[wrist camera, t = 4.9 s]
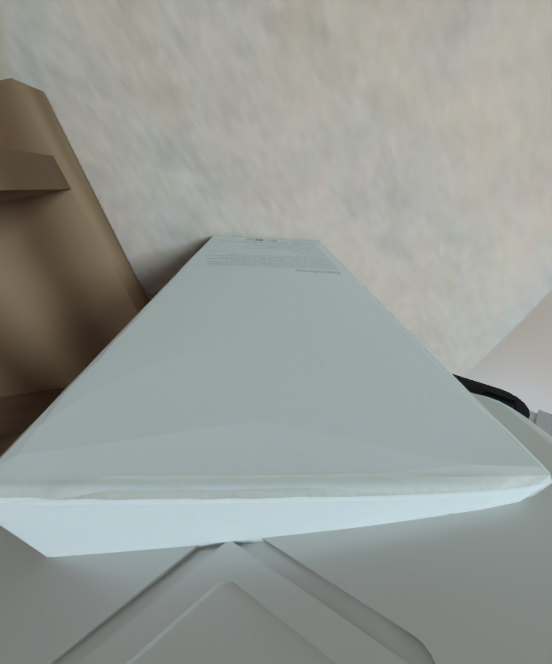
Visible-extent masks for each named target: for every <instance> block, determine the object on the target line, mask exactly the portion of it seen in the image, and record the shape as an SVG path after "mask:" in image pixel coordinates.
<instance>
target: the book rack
mask: <svg viewBox="0 0 552 664" xmlns="http://www.w3.org/2000/svg"><path fill="white" fill-rule="evenodd" d="M148 303H149V301H148V299H147V297H146V295H145V293H144V291H143V289H142V287H141V285H140V283H139V281H138V279H137V277H136V275H135V273H134V271H133V269H132V267H131V265H130V263H129V261H128V259H127V257H126V255H125V253H124V251H123V249H122V247H121V245H120V243H119V241H118V239H117V237H116V235H115V233H114V231H113V229H112V227H111V225H110V223H109V221H108V219H107V217H106V215H105V213H104V211H103V209H102V207H101V205H100V203H99V201H98V199H97V197H96V195H95V193H94V191H93V189H92V187H91V185H90V183H89V181H88V179H87V177H86V175H85V173H84V171H83V169H82V167H81V165H80V163H79V161H78V159H77V157H76V155H75V153H74V151H73V149H72V147H71V145H70V143H69V141H68V139H67V137H66V135H65V133H64V131H63V129H62V127H61V125H60V123H59V121H58V119H57V117H56V115H55V113H54V111H53V109H52V107H51V105H50V103H49V101H48V99H47V97H46V95H45V93H44V92H43V91H40V90H38V89H35V88H33V87H31V86H28V85H26V84H24V83H21V82H19V81H17V80H14V79H12V78H10V79H5V80H1V81H0V456H1V455H2V454H3V453H4V452H5V451H6V450H7V449H8V448H9V447H10V446H11V445H12V444H13V443H14V442H15V440H16V439H17V438H18V437H19V436H20V435H21V434H22V433H23V432H24V431H25V430H26V429H27V428H28V427H29V426H30V425H31V424H32V423H33V422H34V421H35V420H36V419H37V418H38V417H39V416H40V415H41V414H42V413H43V412H44V411H45V410H46V409H47V408H48V407H49V406H50V405H51V404H52V403H53V402H54V400H55V399H56V398H57V397H58V396H59V395H60V394H61V393H62V392H63V391H64V390H65V388H66V387H67V386H68V385H69V384H70V383H71V382H73V381H74V380H75V379H76V378H77V377H78V376H79V375H80V374H81V373H82V372H83V371H84V369H85V368H86V367H87V366H88V365H89V364H90V363H91V362H92V361H93V360H94V359H95V358H96V357H97V356H98V355H99V353H100V352H101V351H102V350H103V349H104V348H105V347H106V346H107V345H108V344H109V343H110V342H111V341H112V340H113V339H114V338H115V337H116V336H117V335H118V334H119V333H120V332H121V331H122V330H123V329H124V328H125V327H126V326H127V325H128V324H129V323H130V322H131V321H132V319H133V318H134V317H135V316H136V315H137V314H138V313H139V312H140V311H141V310H142V309H143V308H144V307H145V306H146V305H147V304H148Z"/></svg>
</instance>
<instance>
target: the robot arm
mask: <svg viewBox="0 0 552 664" xmlns="http://www.w3.org/2000/svg"><path fill="white" fill-rule="evenodd" d="M452 375H453V376H454V377H455V378H456V379H457V380H458V381H459V382H460V383H461V384H462V385H463V386H464V387H465V388H466V389H467V390H468V391H469V392H470V393H471V394H472V395H473V396H474V397H475V398H476V399H477V400H478V401H479V402H480V403H481V404H482V405H483V406H484V407H485V408H486V409H487V410H488V411H489V412H490V413H491V414H492V415H493V416H494V417H495V418H496V419H497V420H498V421H499V422H500V423H501V424H502V425H503V426H504V427H505V428H506V429H507V430H508V431H509V432H510V433H511V434H512V435H513V436H514V437H515V438H516V439H517V440H518V441H519V442H520V443H521V444H522V445H523V446H524V447H525V448H526V449H527V450H528V451H529V452H530V453H531V454H532V455H533V456H534V457H535V458H536V459H537V460H538V461H539V462H540V463H541V464H542V465H543V466H544V467H545V468H546V469H547V470H548V471H549V472H550V476H551V479H552V415H551V414H549V413H546V412H543V411H541V410H539V411H538V412H537V414H536V413H534V412H531V411H529V409H528V408H527V406H526V405H525V403H523V402H522V401H521V400H520V399H519V398H517V397H516V396H514V395H512V394H511V393H509V392H506V391H504V390H501V389H498V388H495V387H492V386H489V385H486V384H483V383H479V382H476V381H473V380H470V379H467V378H463V377H460V376H457V375H454V374H452ZM262 539H263V541H261V542H252V543H243V544H236V543H234V542H233V541H230V542H225V543H224V544H223V545H221V546H216V547H207V548H199V546H198V545H193V546H183V547H172V548H160V549H148V550H136V551H124V552H113V553H99V554H85V555H72V556H59V557H46V556H45V555H43V554H42V553H40V552H39V551H37V550H36V549H34V548H33V547H32V546H30V545H29V544H27V543H26V542H24V541H23V540H21V539H20V538H18V537H17V536H15V535H14V534H12V533H11V532H9V531H8V530H6V529H5V528H3V527H2V526H0V664H552V483H551V484H550V485H548V486H547V487H546V488H545V489H543V490H542V491H540V492H538V493H537V494H535V495H533V496H529V497H526V498H524V499H523V500H521V501H519V502H516V503H511V504H505V505H500V506H496V507H491V508H487V509H482V510H475V511H468V512H462V513H455V514H449V515H442V516H435V517H428V518H422V519H415V520H408V521H401V522H394V523H387V524H379V525H371V526H364V527H356V528H348V529H339V530H330V531H321V532H312V533H303V534H293V535H284V536H275V537H266V538H262Z"/></svg>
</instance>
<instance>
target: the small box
mask: <svg viewBox="0 0 552 664" xmlns="http://www.w3.org/2000/svg"><path fill="white" fill-rule="evenodd" d="M551 483H552V479H551V476H550V472H549V471H548V470H547V469H546V468H545V467H544V466H543V465H542V464H541V463H540V462H539V461H538V460H537V459H536V458H535V457H534V456H533V455H532V454H531V453H530V452H529V451H528V450H527V449H526V448H525V447H524V446H523V445H522V444H521V443H520V442H519V441H518V440H517V439H516V438H515V437H514V436H513V435H512V434H511V433H510V432H509V431H508V430H507V429H506V428H505V427H504V426H503V425H502V424H501V423H500V422H499V421H498V420H497V419H496V418H495V417H494V416H493V415H492V414H491V413H490V412H489V411H488V410H487V409H486V408H485V407H484V406H483V405H482V404H481V403H480V402H479V401H478V400H477V399H476V398H475V397H474V396H473V395H472V394H471V393H470V392H469V391H468V390H467V389H466V388H465V387H464V386H463V385H462V384H461V383H460V382H459V381H458V380H457V379H456V378H455V377H454V376H453V375H452V374H451V373H450V372H449V371H448V370H447V369H446V368H445V367H444V366H443V365H442V364H441V363H440V362H439V361H438V360H437V359H436V358H435V357H434V356H433V355H432V354H431V353H430V352H429V351H428V350H427V349H426V348H425V347H424V346H423V345H422V344H421V343H420V342H419V341H418V340H417V339H416V338H415V337H414V336H413V335H412V334H411V333H410V332H409V331H408V329H407V328H406V327H405V326H404V325H403V324H402V323H401V322H400V321H399V320H398V319H397V318H396V317H395V316H394V315H393V314H392V313H391V312H390V311H389V310H388V309H387V308H386V307H385V306H384V305H383V304H382V303H381V302H380V301H379V300H378V299H377V298H376V297H375V296H374V295H373V294H372V293H371V292H370V291H369V290H368V289H367V288H366V287H365V286H364V285H363V284H362V283H361V282H360V281H359V280H358V279H357V278H356V277H355V276H354V275H353V274H352V273H351V272H350V271H349V270H348V269H347V268H346V267H345V266H344V265H343V264H342V263H341V262H340V261H339V260H338V259H337V258H336V257H335V256H334V255H333V254H332V253H331V252H330V251H329V250H328V249H327V248H326V247H325V246H324V245H323V244H322V243H321V242H320V241H298V240H279V239H261V238H244V237H227V236H212V237H211V238H210V239H209V240H208V242H206V244H205V245H204V246H203V247H202V248H201V249H200V250H199V251H198V252H197V253H196V254H195V255H194V256H193V257H192V258H191V259H190V260H189V261H188V262H187V263H186V264H185V265H184V266H183V267H182V268H181V269H180V270H179V271H178V273H177V274H176V275H175V276H174V277H173V278H172V279H171V280H170V281H169V282H168V283H167V284H166V285H165V286H164V287H163V288H162V289H161V290H160V291H159V292H158V293H157V294H156V295H155V296H154V297H153V298H152V299H151V301H150V302H149V303H148V304H147V305H146V306H145V307H144V308H143V309H142V310H141V311H140V312H139V313H138V314H137V315H136V316H135V317H134V318H133V319H132V321H131V322H130V323H129V324H128V325H127V326H126V327H125V328H124V329H123V330H122V331H121V332H120V333H119V334H118V335H117V336H116V337H115V338H114V339H113V340H112V341H111V342H110V343H109V344H108V345H107V346H106V347H105V348H104V349H103V350H102V351H101V352H100V353H99V355H98V356H97V357H96V358H95V359H94V360H93V361H92V362H91V363H90V364H89V365H88V366H87V367H86V368H85V369H84V371H83V372H82V373H81V374H80V375H79V376H78V377H77V378H76V379H75V380H74V381H73V382H71V383H70V384H69V385H68V386H67V387H66V388H65V390H64V391H63V392H62V393H61V394H60V395H59V396H58V397H57V398H56V399H55V400H54V402H53V403H52V404H51V405H50V406H49V407H48V408H47V409H46V410H45V411H44V412H43V413H42V414H41V415H40V416H39V417H38V418H37V419H36V420H35V421H34V422H33V423H32V424H31V425H30V426H29V427H28V428H27V429H26V430H25V431H24V432H23V433H22V434H21V435H20V436H19V437H18V438H17V439H16V440H15V442H14V443H13V444H12V445H11V446H10V447H9V448H8V449H7V450H6V451H5V452H4V453H3V454H2V455H1V456H0V526H2V527H3V528H5V529H6V530H8V531H9V532H11V533H12V534H14V535H15V536H17V537H18V538H20V539H21V540H23V541H24V542H26V543H27V544H29V545H30V546H32V547H33V548H34V549H36V550H37V551H39V552H40V553H42V554H43V555H45V556H46V557H59V556H72V555H85V554H99V553H113V552H124V551H136V550H148V549H160V548H172V547H183V546H193V545H198V546H199V548H207V547H216V546H221V545H223V544H224V543H225V542H230V541H233V542H234V543H236V544H243V543H252V542H261V541H263V539H262V538H266V537H275V536H284V535H293V534H303V533H312V532H321V531H330V530H339V529H348V528H356V527H364V526H371V525H379V524H387V523H394V522H401V521H408V520H415V519H422V518H428V517H435V516H442V515H449V514H455V513H462V512H468V511H475V510H482V509H487V508H491V507H496V506H500V505H505V504H511V503H516V502H519V501H521V500H523V499H524V498H526V497H529V496H533V495H535V494H537V493H538V492H540V491H542V490H543V489H545V488H546V487H547V486H548V485H550V484H551Z"/></svg>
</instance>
